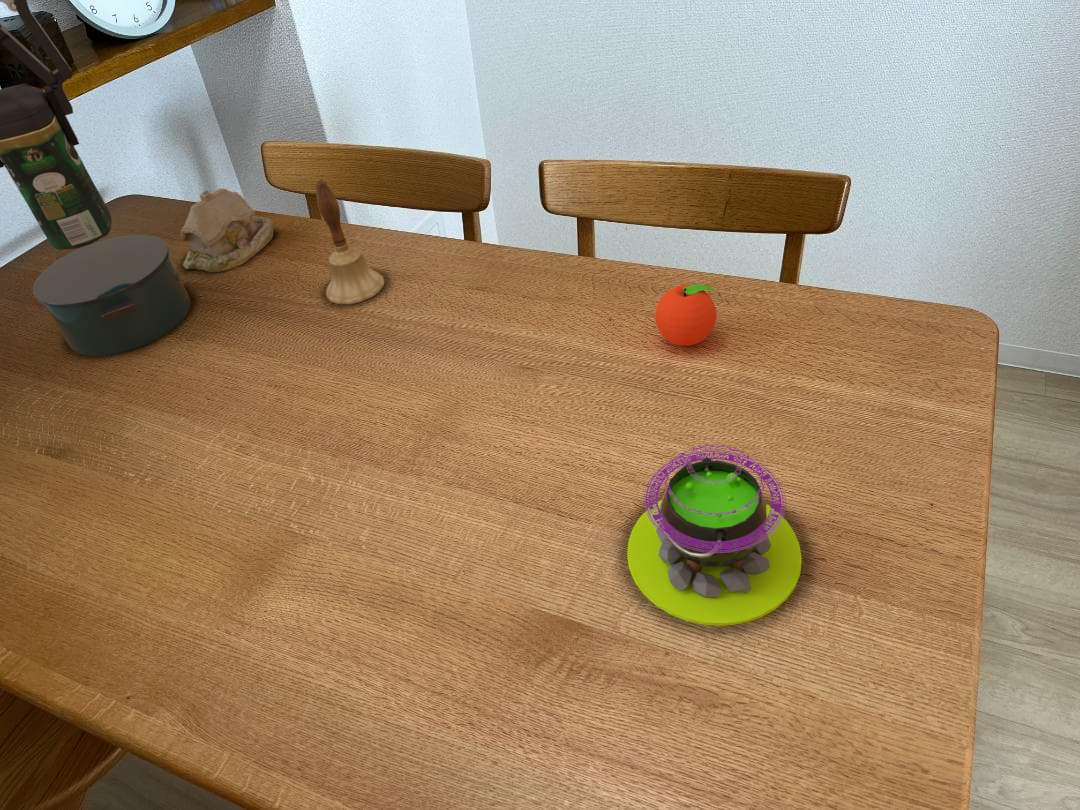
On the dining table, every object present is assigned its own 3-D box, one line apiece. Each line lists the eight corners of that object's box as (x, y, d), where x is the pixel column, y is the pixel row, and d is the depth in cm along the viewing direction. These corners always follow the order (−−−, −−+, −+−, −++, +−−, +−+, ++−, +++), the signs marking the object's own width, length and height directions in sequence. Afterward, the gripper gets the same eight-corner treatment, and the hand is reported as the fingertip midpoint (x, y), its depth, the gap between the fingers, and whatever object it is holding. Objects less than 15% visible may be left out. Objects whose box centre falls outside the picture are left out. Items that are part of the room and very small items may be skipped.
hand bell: (314, 296, 113) (275, 191, 103) (355, 267, 118) (322, 164, 107) (355, 310, 109) (319, 202, 98) (396, 279, 113) (366, 173, 103)
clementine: (707, 314, 98) (707, 263, 93) (735, 344, 93) (737, 292, 88) (646, 332, 97) (644, 282, 92) (671, 364, 92) (670, 312, 87)
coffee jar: (53, 228, 108) (-28, 90, 96) (114, 211, 110) (42, 73, 98) (50, 259, 101) (-38, 114, 89) (115, 240, 103) (37, 95, 91)
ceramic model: (218, 280, 120) (191, 219, 114) (172, 265, 125) (143, 207, 119) (287, 235, 128) (265, 176, 122) (241, 223, 134) (218, 166, 127)
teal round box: (73, 380, 105) (38, 326, 99) (59, 311, 119) (28, 260, 113) (206, 328, 110) (180, 274, 105) (178, 268, 125) (154, 218, 119)
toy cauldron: (623, 495, 78) (615, 409, 70) (783, 484, 76) (791, 395, 69) (631, 630, 66) (623, 544, 59) (819, 621, 65) (834, 532, 57)
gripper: (-197, -27, 78) (-55, 191, 93) (30, -76, 84) (129, 135, 99) (-187, -37, 83) (-54, 170, 98) (26, -82, 90) (120, 119, 104)
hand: (38, 152), depth 99 cm, fingers closed on coffee jar, 8 cm apart
